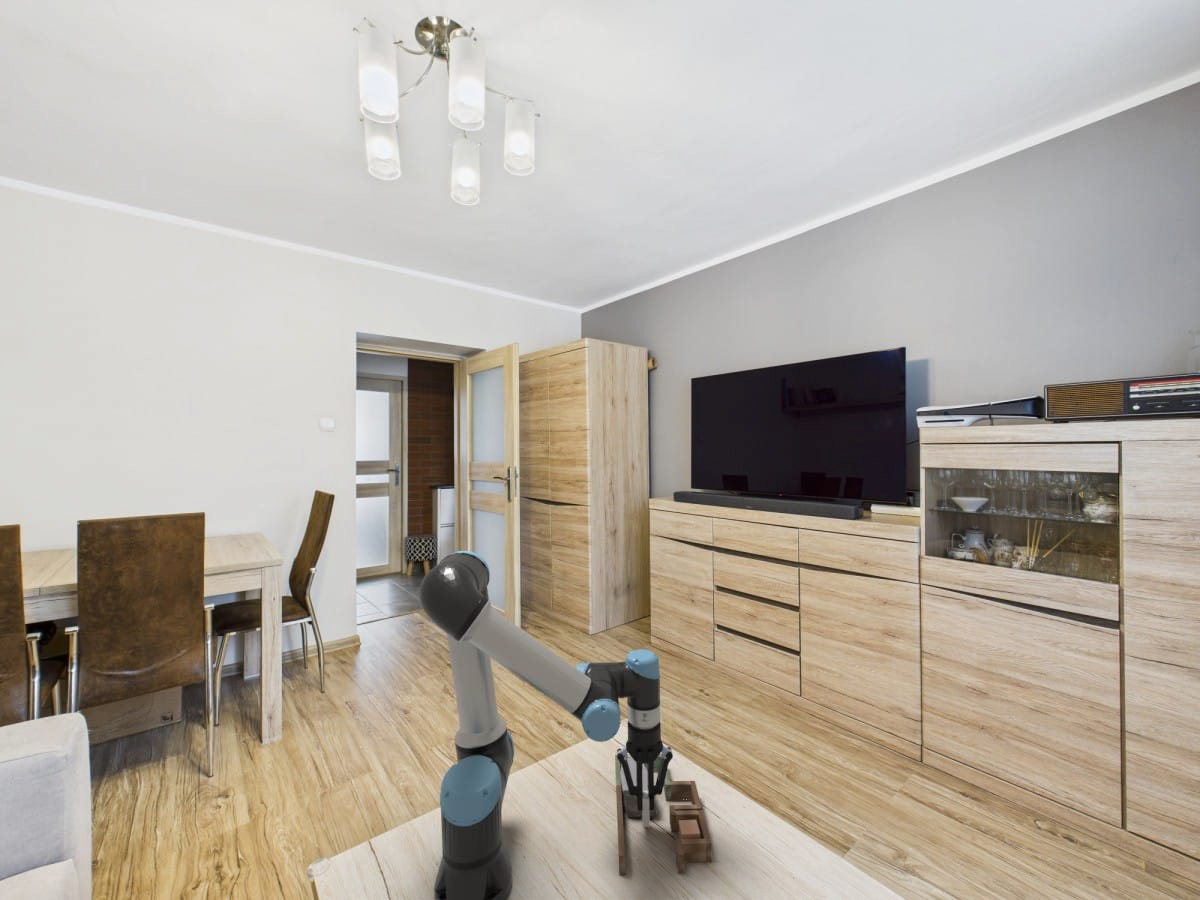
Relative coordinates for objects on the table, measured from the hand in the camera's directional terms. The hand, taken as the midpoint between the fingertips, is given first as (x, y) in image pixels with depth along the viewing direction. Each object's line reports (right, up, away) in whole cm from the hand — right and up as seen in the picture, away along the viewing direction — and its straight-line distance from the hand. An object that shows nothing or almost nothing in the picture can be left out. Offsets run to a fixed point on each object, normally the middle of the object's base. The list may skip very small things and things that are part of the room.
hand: (645, 822), depth 116 cm
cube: (+9, -2, -5) cm, 10 cm away
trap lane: (+3, -1, +5) cm, 6 cm away
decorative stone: (-2, -2, +9) cm, 9 cm away
